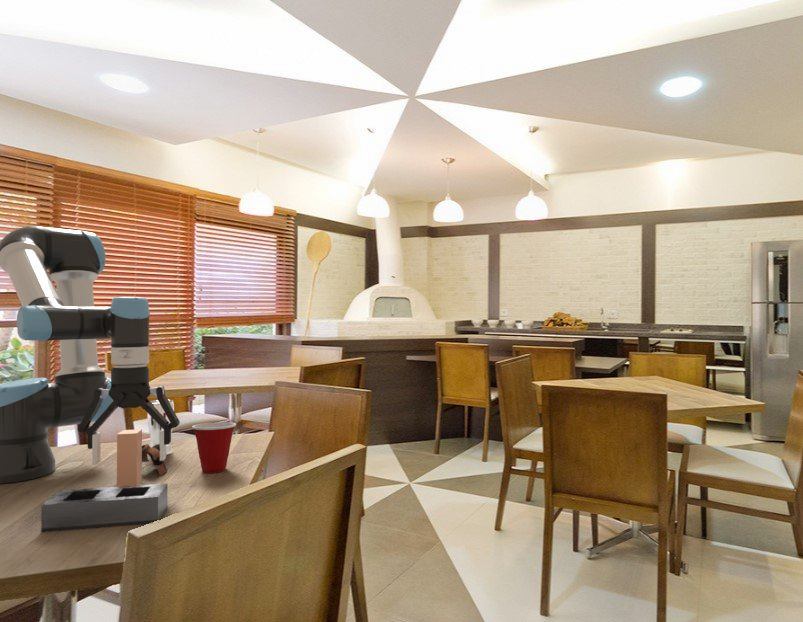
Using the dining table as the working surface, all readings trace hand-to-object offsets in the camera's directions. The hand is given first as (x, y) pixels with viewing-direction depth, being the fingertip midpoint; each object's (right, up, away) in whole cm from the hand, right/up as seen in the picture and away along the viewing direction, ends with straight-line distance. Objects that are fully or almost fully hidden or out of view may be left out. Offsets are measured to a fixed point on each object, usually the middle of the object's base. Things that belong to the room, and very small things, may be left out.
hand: (130, 461), depth 114 cm
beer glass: (-9, -8, +33) cm, 35 cm away
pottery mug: (-4, -8, +16) cm, 18 cm away
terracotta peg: (0, -8, 0) cm, 7 cm away
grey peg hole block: (+3, -7, -13) cm, 16 cm away
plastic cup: (+12, -8, +18) cm, 23 cm away
